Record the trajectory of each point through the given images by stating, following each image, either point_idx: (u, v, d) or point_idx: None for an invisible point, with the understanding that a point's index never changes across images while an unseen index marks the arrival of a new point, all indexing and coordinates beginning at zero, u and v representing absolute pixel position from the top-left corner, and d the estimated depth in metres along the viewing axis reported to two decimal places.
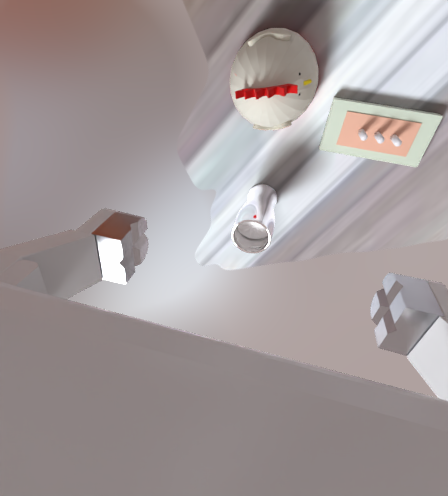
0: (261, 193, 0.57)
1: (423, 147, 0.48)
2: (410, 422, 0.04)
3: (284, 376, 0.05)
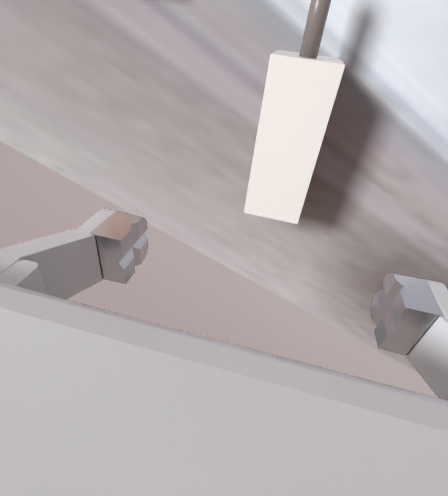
0: None
1: None
2: (410, 422, 0.04)
3: (284, 376, 0.05)
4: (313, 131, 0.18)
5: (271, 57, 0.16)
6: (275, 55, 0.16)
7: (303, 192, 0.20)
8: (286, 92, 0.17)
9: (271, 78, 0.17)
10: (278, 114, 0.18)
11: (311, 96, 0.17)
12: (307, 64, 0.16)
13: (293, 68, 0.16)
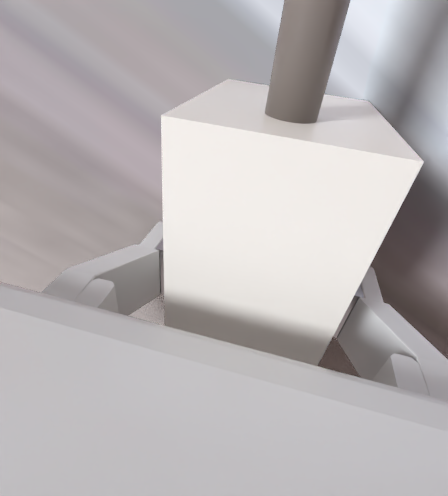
0: None
1: None
2: (410, 422, 0.04)
3: (284, 376, 0.05)
4: (309, 314, 0.07)
5: (166, 126, 0.05)
6: (177, 120, 0.05)
7: None
8: (226, 223, 0.06)
9: (176, 185, 0.05)
10: (210, 269, 0.06)
11: (301, 239, 0.05)
12: (286, 153, 0.05)
13: (240, 162, 0.05)
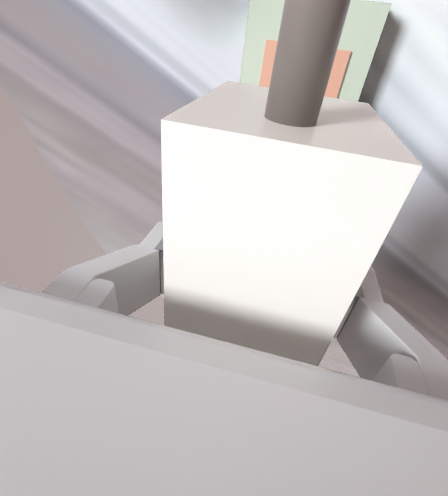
0: None
1: None
2: (410, 422, 0.04)
3: (285, 377, 0.05)
4: (308, 316, 0.07)
5: (166, 130, 0.05)
6: (177, 124, 0.05)
7: None
8: (226, 226, 0.06)
9: (176, 188, 0.05)
10: (210, 272, 0.06)
11: (301, 242, 0.06)
12: (285, 157, 0.05)
13: (240, 166, 0.05)
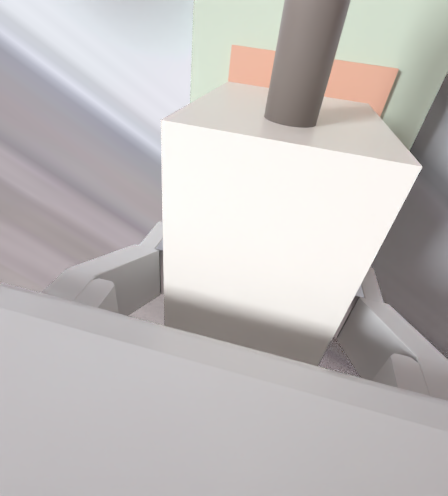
0: None
1: None
2: (410, 422, 0.04)
3: (285, 376, 0.05)
4: (308, 316, 0.07)
5: (166, 130, 0.05)
6: (177, 125, 0.05)
7: None
8: (226, 226, 0.06)
9: (176, 188, 0.05)
10: (210, 272, 0.06)
11: (301, 242, 0.06)
12: (285, 157, 0.05)
13: (240, 166, 0.05)
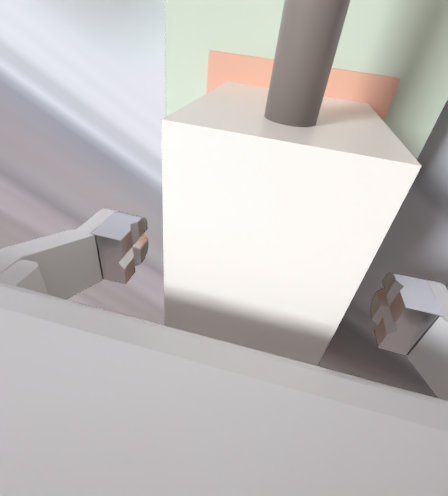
0: None
1: None
2: (410, 422, 0.04)
3: (284, 376, 0.05)
4: (308, 315, 0.07)
5: (166, 130, 0.05)
6: (178, 124, 0.05)
7: None
8: (226, 225, 0.06)
9: (177, 188, 0.05)
10: (210, 271, 0.06)
11: (301, 242, 0.06)
12: (285, 157, 0.05)
13: (240, 165, 0.05)
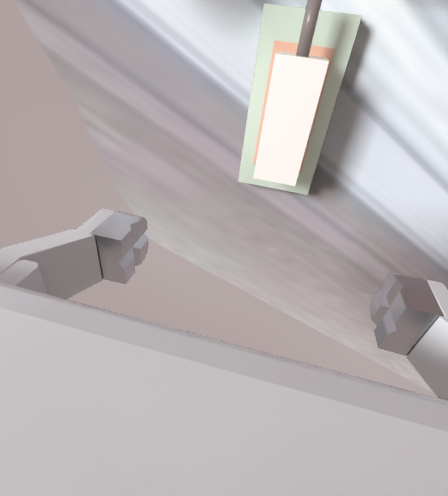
0: None
1: (266, 182, 0.34)
2: (410, 422, 0.04)
3: (285, 376, 0.05)
4: (306, 111, 0.24)
5: (276, 55, 0.23)
6: (278, 54, 0.22)
7: (299, 159, 0.27)
8: (286, 81, 0.23)
9: (275, 71, 0.23)
10: (280, 98, 0.24)
11: (305, 84, 0.23)
12: (302, 61, 0.22)
13: (292, 63, 0.23)
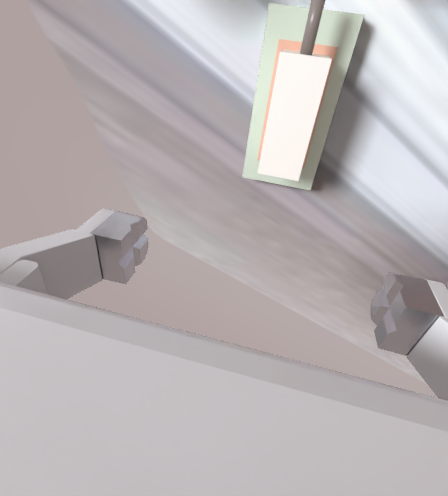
0: None
1: (270, 178, 0.35)
2: (410, 422, 0.04)
3: (284, 377, 0.05)
4: (310, 107, 0.25)
5: (280, 54, 0.23)
6: (283, 52, 0.23)
7: (303, 155, 0.27)
8: (290, 79, 0.24)
9: (280, 69, 0.24)
10: (284, 95, 0.25)
11: (308, 81, 0.24)
12: (305, 58, 0.23)
13: (295, 61, 0.23)
